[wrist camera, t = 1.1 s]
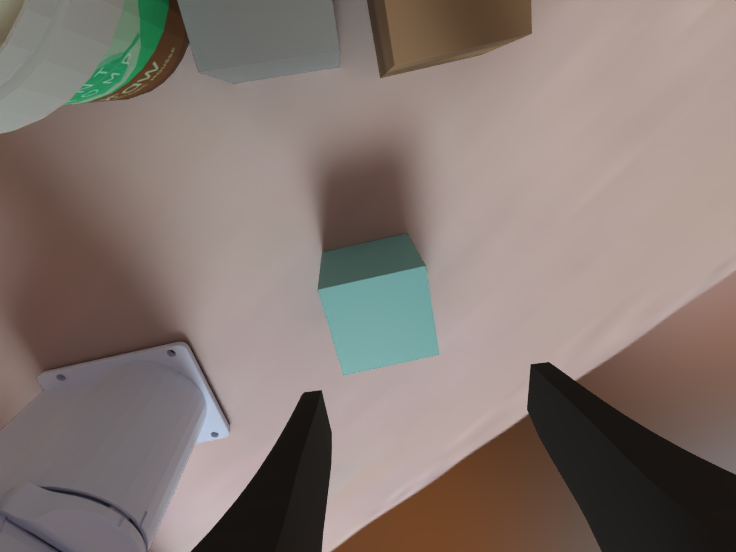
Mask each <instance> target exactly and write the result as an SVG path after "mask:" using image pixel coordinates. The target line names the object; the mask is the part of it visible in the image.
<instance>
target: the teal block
mask: <svg viewBox="0 0 736 552" xmlns="http://www.w3.org/2000/svg"><path fill="white" fill-rule="evenodd" d="M318 293H319V296H320V299H321V303H322V306H323V309H324V313H325V316H326V319H327V323H328V326H329V329H330V333H331V336H332V339H333V343H334V346H335V349H336V353H337V356H338V359H339V362H340V366H341V369H342V372H343V375H348V374H352V373H357V372H362V371H366V370H371V369H375V368H380V367H385V366H389V365H394V364H398V363H403V362H408V361H412V360H417V359H421V358H426V357H431V356H435V355H440V354H439V348H438V342H437V335H436V329H435V322H434V316H433V309H432V303H431V296H430V290H429V283H428V277H427V271H426V265H425V264H424V262H423V260H422V258H421V257H420V255H419V253H418V251H417V250H416V248H415V246H414V245H413V243H412V241H411V239H410V238H409V236H408V234H407V233H406V234H402V235H397V236H393V237H388V238H384V239H379V240H375V241H370V242H366V243H362V244H357V245H353V246H348V247H344V248H339V249H335V250H330V251H326V252H322V258H321V267H320V275H319V283H318Z"/></svg>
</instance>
